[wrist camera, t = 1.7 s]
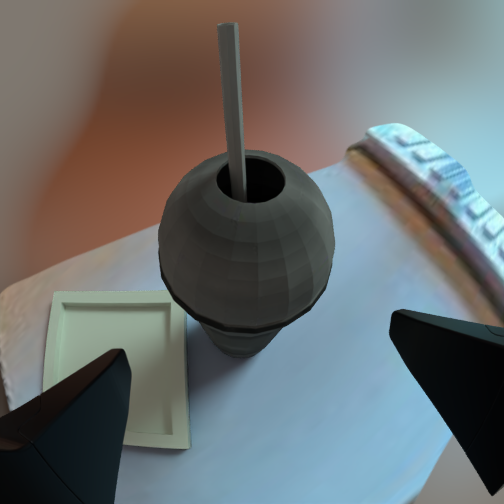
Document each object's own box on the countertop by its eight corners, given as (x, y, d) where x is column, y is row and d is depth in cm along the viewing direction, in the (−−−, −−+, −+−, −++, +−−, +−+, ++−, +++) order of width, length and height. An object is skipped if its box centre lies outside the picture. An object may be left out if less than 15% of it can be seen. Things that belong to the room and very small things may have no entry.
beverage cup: (235, 396, 19) (244, 213, 2) (173, 323, 22) (58, 53, 5) (307, 332, 22) (461, 83, 5) (244, 269, 25) (265, 1, 8)
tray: (191, 447, 17) (188, 449, 16) (51, 428, 16) (42, 428, 15) (186, 296, 23) (184, 289, 22) (61, 297, 22) (54, 291, 21)
